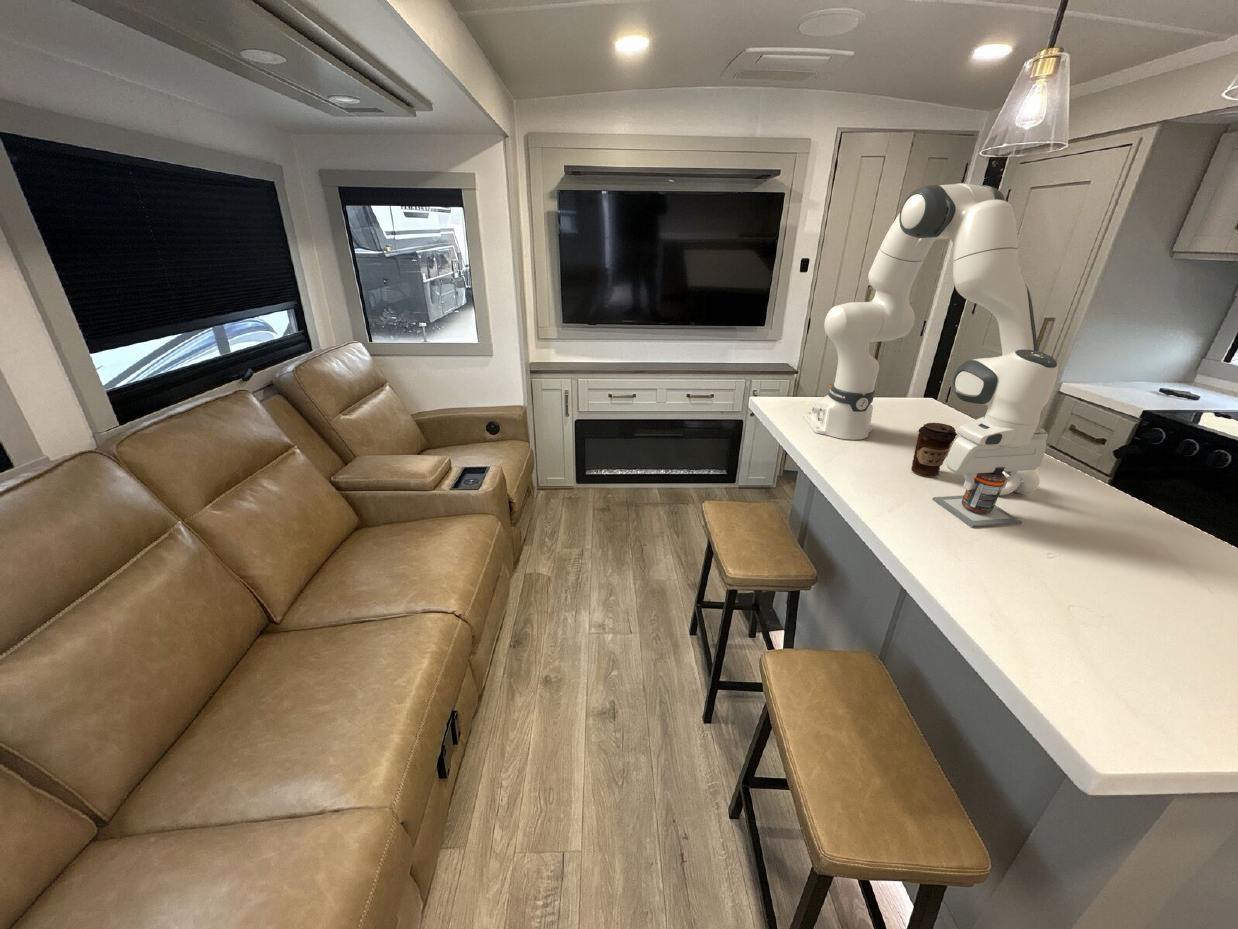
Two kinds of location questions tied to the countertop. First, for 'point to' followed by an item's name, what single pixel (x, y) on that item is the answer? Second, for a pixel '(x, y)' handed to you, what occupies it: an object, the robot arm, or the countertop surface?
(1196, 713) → the countertop surface
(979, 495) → the supplement bottle
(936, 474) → the coffee cup
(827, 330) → the robot arm
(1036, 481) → the white decorative knot
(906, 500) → the countertop surface
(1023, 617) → the countertop surface
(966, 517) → the coaster
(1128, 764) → the countertop surface
